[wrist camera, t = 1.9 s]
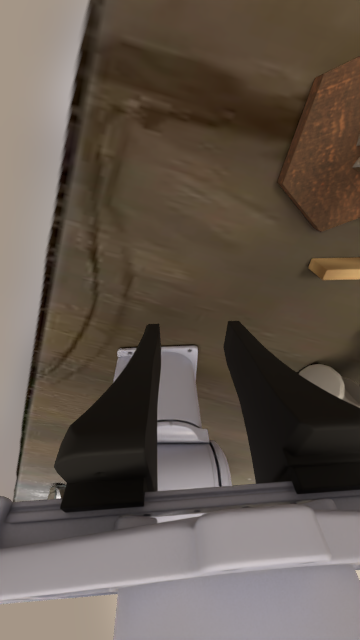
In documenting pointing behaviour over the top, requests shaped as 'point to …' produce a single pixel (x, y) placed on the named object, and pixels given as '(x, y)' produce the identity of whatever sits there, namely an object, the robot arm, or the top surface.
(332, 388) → the pony
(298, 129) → the robot figurine
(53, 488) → the wristwatch
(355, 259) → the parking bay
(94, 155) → the top surface
